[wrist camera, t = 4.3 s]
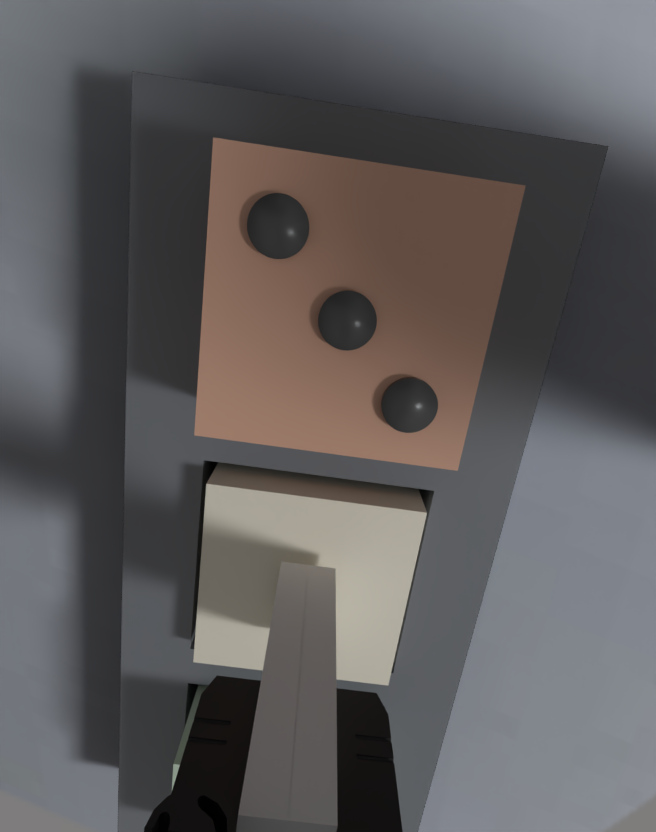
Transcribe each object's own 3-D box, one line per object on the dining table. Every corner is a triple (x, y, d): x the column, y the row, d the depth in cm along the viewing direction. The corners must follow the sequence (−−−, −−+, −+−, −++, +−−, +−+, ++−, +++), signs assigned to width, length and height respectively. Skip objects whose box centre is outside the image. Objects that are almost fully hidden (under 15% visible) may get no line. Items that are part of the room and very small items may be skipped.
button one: (228, 443, 16) (204, 486, 13) (410, 468, 16) (428, 516, 13) (215, 597, 18) (191, 667, 15) (379, 618, 18) (388, 690, 15)
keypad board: (167, 103, 14) (131, 71, 11) (561, 165, 14) (608, 146, 12) (141, 773, 21) (117, 839, 19) (398, 802, 22) (406, 870, 19)
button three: (241, 164, 12) (211, 135, 9) (481, 201, 12) (529, 184, 9) (222, 398, 14) (192, 438, 11) (432, 427, 14) (459, 474, 11)
